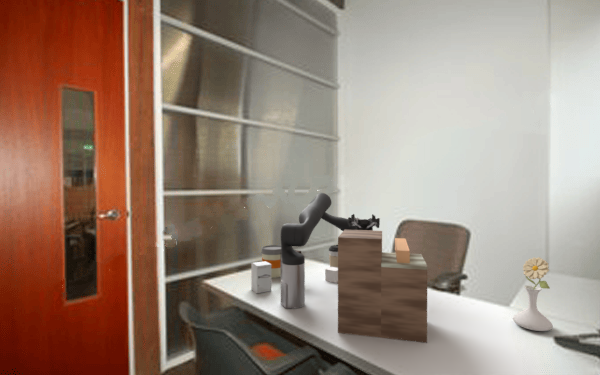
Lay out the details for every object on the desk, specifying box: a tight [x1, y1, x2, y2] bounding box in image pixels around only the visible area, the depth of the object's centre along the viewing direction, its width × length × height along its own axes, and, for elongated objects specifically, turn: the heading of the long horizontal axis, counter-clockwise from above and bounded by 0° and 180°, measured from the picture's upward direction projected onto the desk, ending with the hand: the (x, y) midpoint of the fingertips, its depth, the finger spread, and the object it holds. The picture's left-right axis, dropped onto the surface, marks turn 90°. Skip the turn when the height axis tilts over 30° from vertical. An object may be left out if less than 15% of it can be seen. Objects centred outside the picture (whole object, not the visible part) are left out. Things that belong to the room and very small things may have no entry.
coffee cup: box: [328, 244, 338, 268], centre depth 185 cm, size 9×9×15 cm
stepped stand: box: [337, 230, 428, 344], centre depth 117 cm, size 18×28×32 cm, turn 76°
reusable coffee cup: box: [261, 244, 281, 279], centre depth 180 cm, size 13×13×15 cm
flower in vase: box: [512, 256, 554, 332], centre depth 115 cm, size 13×11×25 cm
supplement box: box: [250, 261, 272, 294], centre depth 155 cm, size 7×7×13 cm
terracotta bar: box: [394, 237, 411, 263], centre depth 121 cm, size 24×4×4 cm, turn 166°
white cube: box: [324, 266, 338, 284], centre depth 171 cm, size 6×6×6 cm
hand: (363, 216), depth 149 cm, fingers open, 8 cm apart
